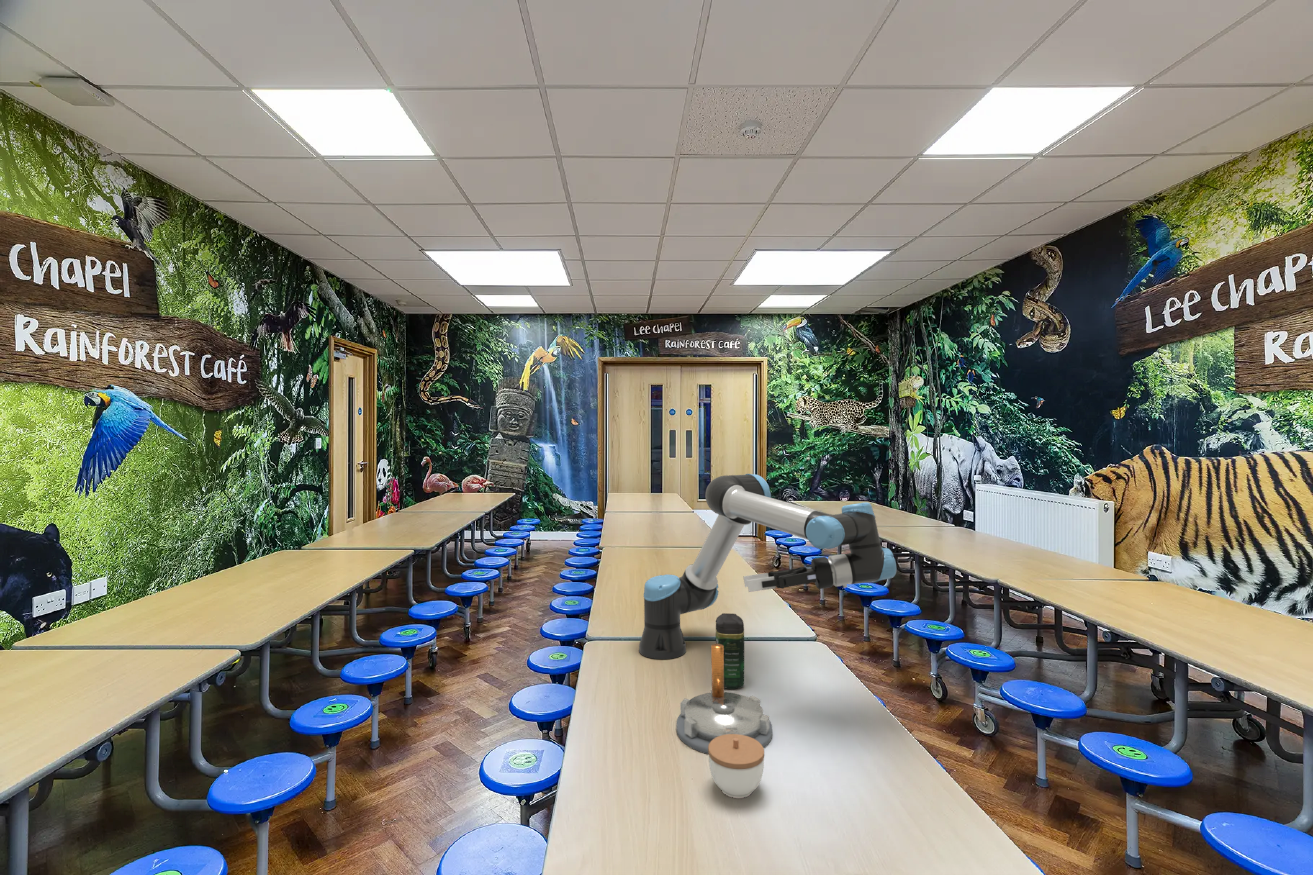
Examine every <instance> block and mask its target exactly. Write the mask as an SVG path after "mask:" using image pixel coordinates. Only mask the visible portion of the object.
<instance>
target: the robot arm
mask: <svg viewBox="0 0 1313 875" xmlns="http://www.w3.org/2000/svg"><path fill="white" fill-rule="evenodd" d="M771 493H772V492H771V491H770V486H769V484H768V483H767V481H766V480H765V479H764V477H762V476H761V475H759V474H754V473H745V474H732V475H727V474H726V475H720V476H718V477H715V478H713V479H712V480H711V481H710V483H709V484H708V485H707V487H706V489H705V496H704V497H705V502H706V504H707V506H708V508H709V509H710V510H711V511H712V512H714V513H715V514H717V516H716V519H715V521H714V524H713V525H712V526H711V529H710V530H709V533H708V535H707V537H706V539H705V541H704V543H703V544H702V547H701V549H700V551H699V553H698V554H697V557H696V559H695V560H694V562H693V564H689V565H687V567H686V568H685V570H684V572H683V573H682V575H681V576H680V577H678V576H677V575H675V574H663V575H662V574H659V575H655V576H652V577H650V578H649V579H648V580H646V582H645V584H644V587H643V588H644V590H643V604H644V605H643V608H644V610H643V612H644V613H643V614H644V616H643V618H644V628H643V632H642V634H641V638H640V641H639V645H638V647H639V648H638V649H639V650H638V651H639V652H638V653H639V654H640V655H642V656H643V657H645V658H648V659H654V660H670V659H671V660H672V659H676V658H679V657H681V656H683V655H685V654H686V652H687V644H686V641H685V638H684V635H683V631H682V628H681V615H683V614H687V613H692V612H696V611H700V610H704V609H707V608H709V607H711V606H712V605H714V603H715V602H716V601H717V599H718V597H719V590H718V588H719V584H718V583H719V582H718V578H717V576H718V575H719V573H720V570H721V569H722V568H723V565H724V563H725V562H726V560H727V558H728V556H729V554H730V553H731V551H732V548H733V546H734V545H735V544H736V541H737V539H738V538H739V536H740V534H741V532H742V530H743V528H744V526H747V525H750V524H752V523H754V524H759V525H762V526H764V527H767V528H771V529H773V530H777V531H780V532H783V533H787V534H789V535H792V536H795V537H798V538H802V539H804V540H808V542H809V543H810V544H811V545H812V546H813V547H815V548H816V549H820V550H831V549H835V548H838V547H842V546H846V545H847V546H848V548H849V551H850V553H842V554H835V555H829V556H828V557H826V556H820V557H815V558H812V559H811V561H810V566H811V567H810V568H809V569H808V568H807V567H805V566H799V567H797V568H790V569H787V570H785V569H784V570H776V571H769V572H764V573H758V574H750V575H744V576H743V582H744V583H743V585H744V587H745V588H747V589H748V593H752V592H759V591H765V590H773V589H783V590H784V589H785V588H790V587H795V586H796V587H797V586H801V585H809V584H810V583H811V584H812V583H814V584H815V586H816V588H817V589H819V590H823V589H828V588H829V589H830V588H832V587H834V586H835V587H841V586H842V588H843V589H846V588H848V585H858V584H865V583H866V584H867V583H873V582H874V583H875V582H879V581H884V580H887V579H888V580H889V579H892V578H894V577H895V576H896V574H897V563H896V559H895V557H894V554H893V551H892V550H891V549H890V548H888V547H887V548H886V547H882V544H881V540H880V535H879V530H878V525H877V520H876V515H875V513H874V509H873V506H872V504H871V503H870V502H866V501H865V502H861V503H860V502H859V503H853V504H848V505H847V504H846V505H843V506H842V507H841V513H836V514H831V513H826V512H822V511H818V510H817V509H812V508H809V507H805V506H802V505H798V504H795V503H791V502H787V501H784V500H780V499H778V498H777V499H776V498H772V494H771Z"/></svg>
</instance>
